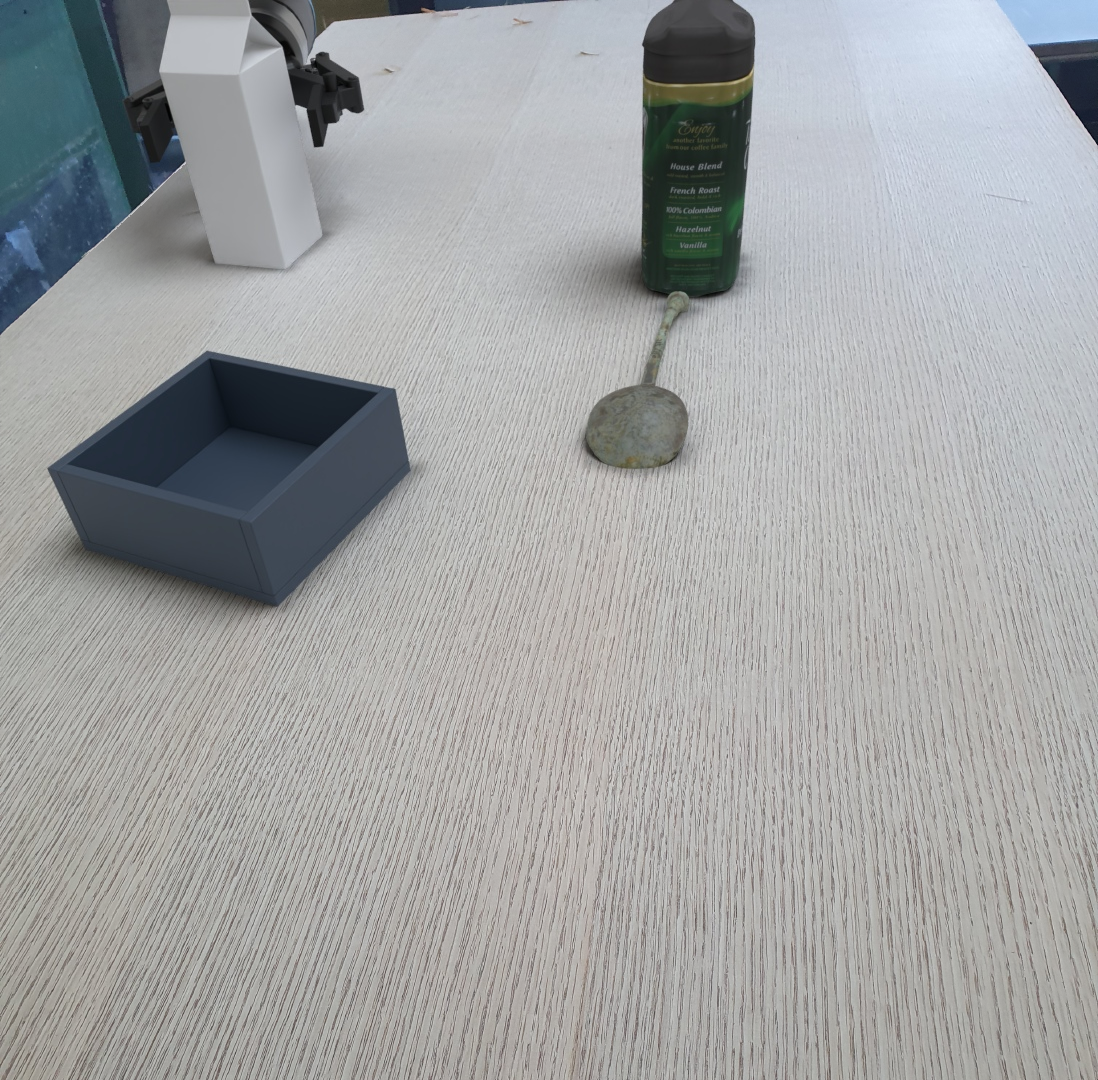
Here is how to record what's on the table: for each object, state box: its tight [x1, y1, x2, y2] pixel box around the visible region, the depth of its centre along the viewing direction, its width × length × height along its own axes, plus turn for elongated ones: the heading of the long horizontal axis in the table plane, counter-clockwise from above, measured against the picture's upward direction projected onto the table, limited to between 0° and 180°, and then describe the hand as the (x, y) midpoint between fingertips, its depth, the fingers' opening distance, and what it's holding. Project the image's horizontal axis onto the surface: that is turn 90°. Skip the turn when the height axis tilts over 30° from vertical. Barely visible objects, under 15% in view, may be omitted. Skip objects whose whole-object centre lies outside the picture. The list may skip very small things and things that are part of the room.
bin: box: [47, 350, 412, 607], centre depth 65 cm, size 15×15×6 cm
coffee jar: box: [640, 0, 756, 298], centre depth 79 cm, size 10×8×19 cm
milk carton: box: [158, 0, 323, 270], centre depth 88 cm, size 7×7×19 cm
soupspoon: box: [585, 291, 691, 470], centre depth 74 cm, size 22×3×7 cm
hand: (232, 136), depth 85 cm, fingers open, 12 cm apart
